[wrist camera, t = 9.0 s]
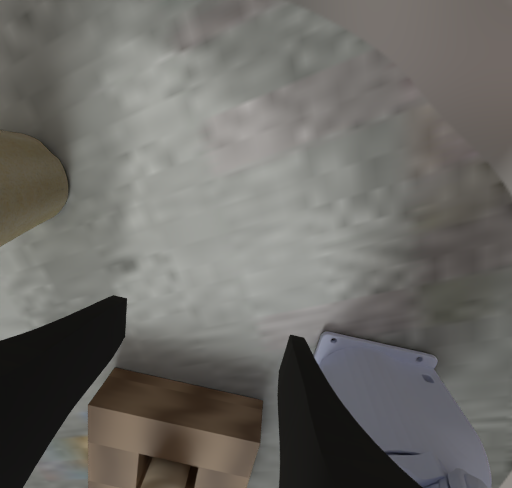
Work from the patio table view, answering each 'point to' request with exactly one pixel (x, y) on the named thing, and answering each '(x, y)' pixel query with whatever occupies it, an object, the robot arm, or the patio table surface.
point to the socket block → (170, 432)
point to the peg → (166, 474)
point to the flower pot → (28, 184)
